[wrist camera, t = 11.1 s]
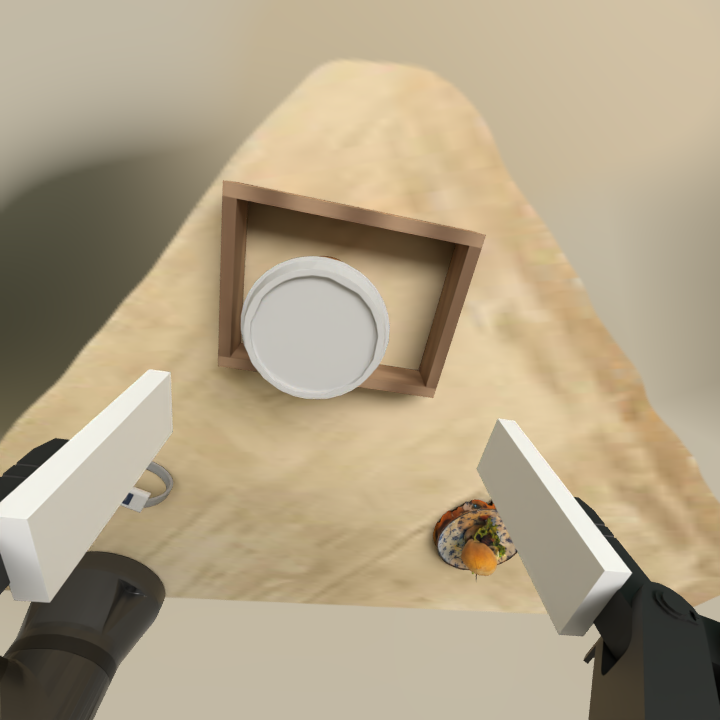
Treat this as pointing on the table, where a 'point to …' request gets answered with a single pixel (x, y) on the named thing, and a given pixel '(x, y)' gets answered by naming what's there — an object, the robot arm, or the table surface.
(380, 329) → the disposable coffee cup
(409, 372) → the rectangular wooden frame
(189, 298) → the table surface
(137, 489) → the wristwatch
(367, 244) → the table surface
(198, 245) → the table surface
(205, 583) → the table surface
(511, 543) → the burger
